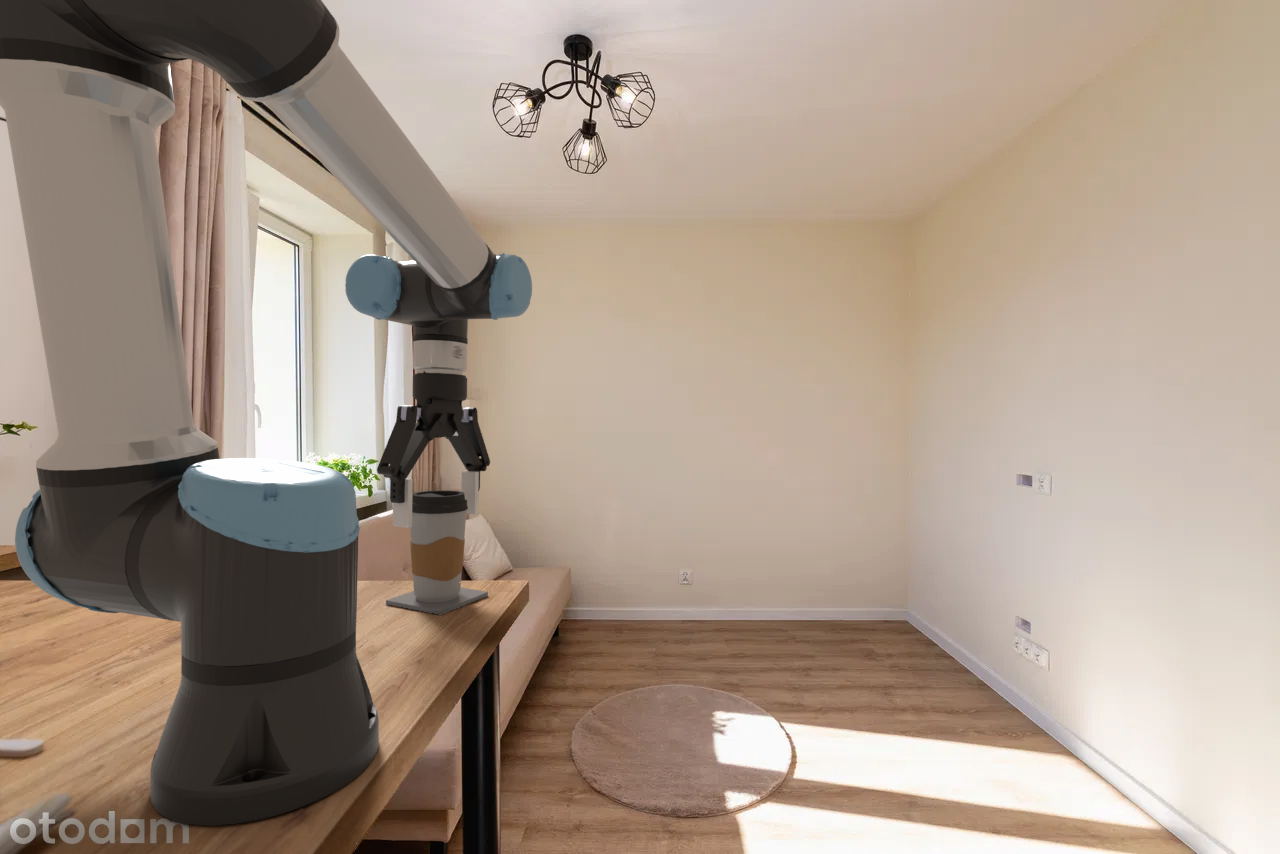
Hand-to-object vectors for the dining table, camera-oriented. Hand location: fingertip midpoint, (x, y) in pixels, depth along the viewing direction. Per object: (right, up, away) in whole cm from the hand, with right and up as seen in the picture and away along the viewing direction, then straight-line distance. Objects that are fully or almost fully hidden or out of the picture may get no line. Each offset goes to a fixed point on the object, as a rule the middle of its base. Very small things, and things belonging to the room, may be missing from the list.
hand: (438, 519), depth 90 cm
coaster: (0, -12, 0) cm, 12 cm away
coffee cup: (0, -11, 0) cm, 11 cm away
